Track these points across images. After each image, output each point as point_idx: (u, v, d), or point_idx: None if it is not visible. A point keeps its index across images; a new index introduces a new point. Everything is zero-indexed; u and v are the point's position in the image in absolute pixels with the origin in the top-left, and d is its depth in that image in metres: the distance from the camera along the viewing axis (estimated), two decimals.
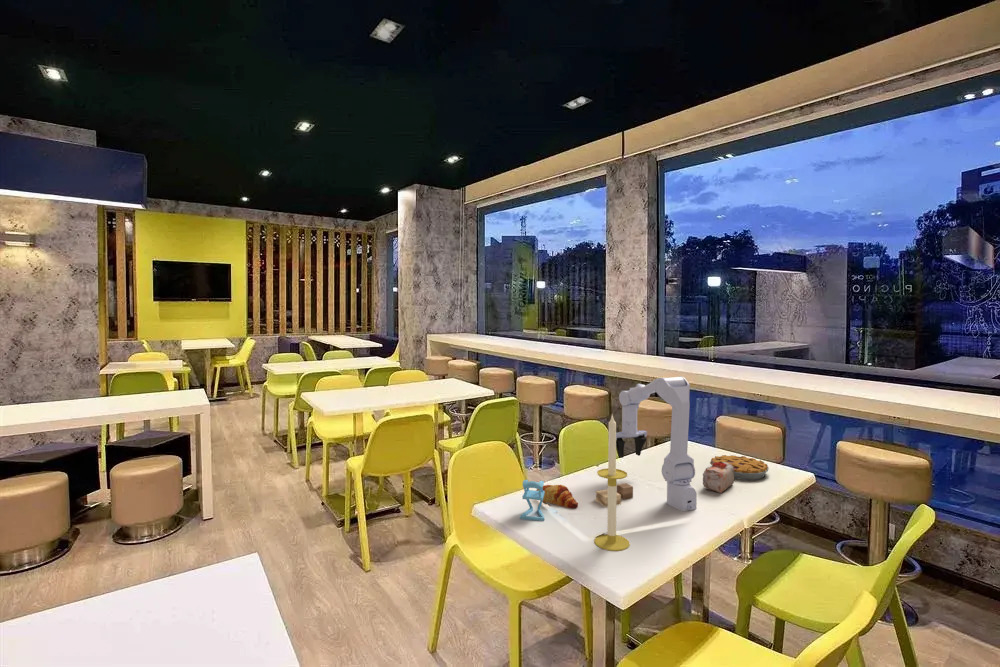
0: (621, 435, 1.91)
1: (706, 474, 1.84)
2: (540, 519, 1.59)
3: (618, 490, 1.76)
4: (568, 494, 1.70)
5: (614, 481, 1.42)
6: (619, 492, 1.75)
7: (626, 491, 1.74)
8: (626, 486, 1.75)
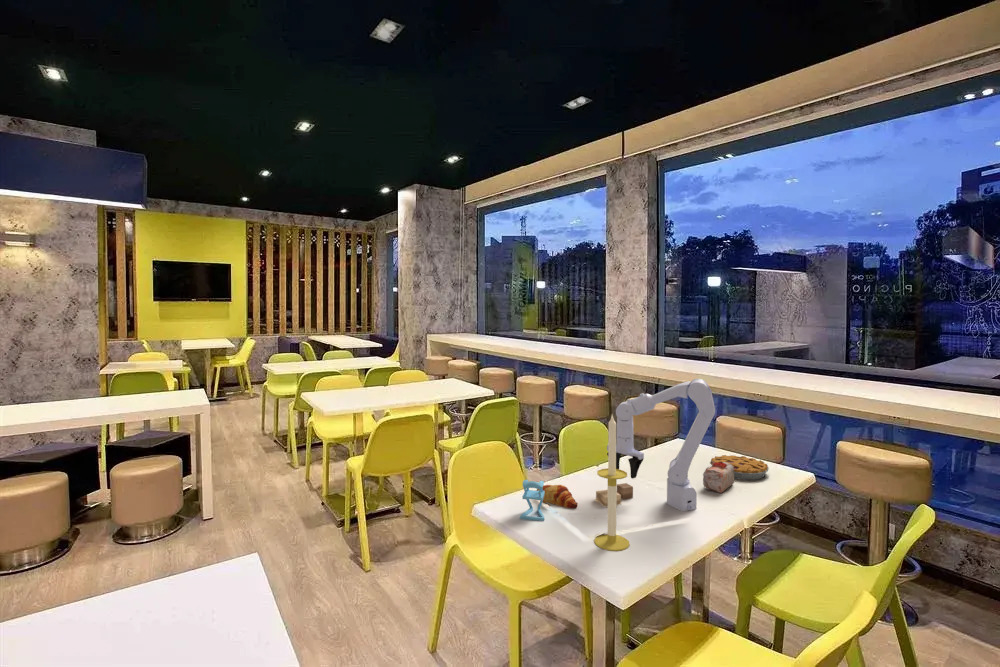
0: None
1: (706, 474, 1.84)
2: (540, 519, 1.59)
3: (618, 490, 1.76)
4: (568, 494, 1.70)
5: (614, 481, 1.42)
6: (619, 492, 1.75)
7: (626, 491, 1.74)
8: (626, 486, 1.75)
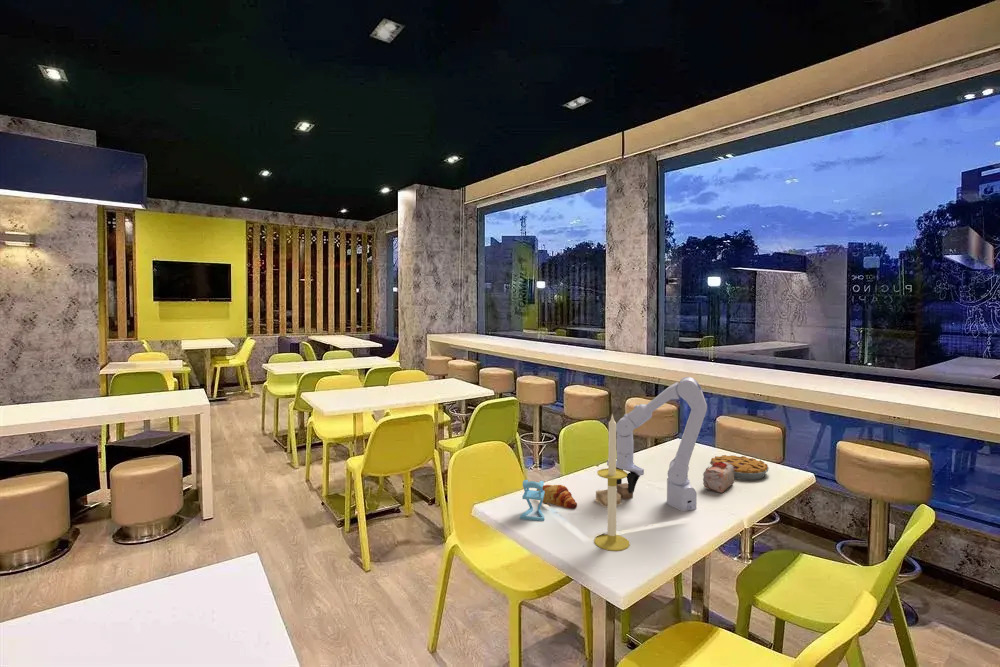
0: None
1: (707, 474, 1.84)
2: (540, 519, 1.59)
3: (618, 490, 1.76)
4: (567, 494, 1.70)
5: (614, 481, 1.42)
6: (619, 492, 1.75)
7: (626, 491, 1.74)
8: (626, 486, 1.75)
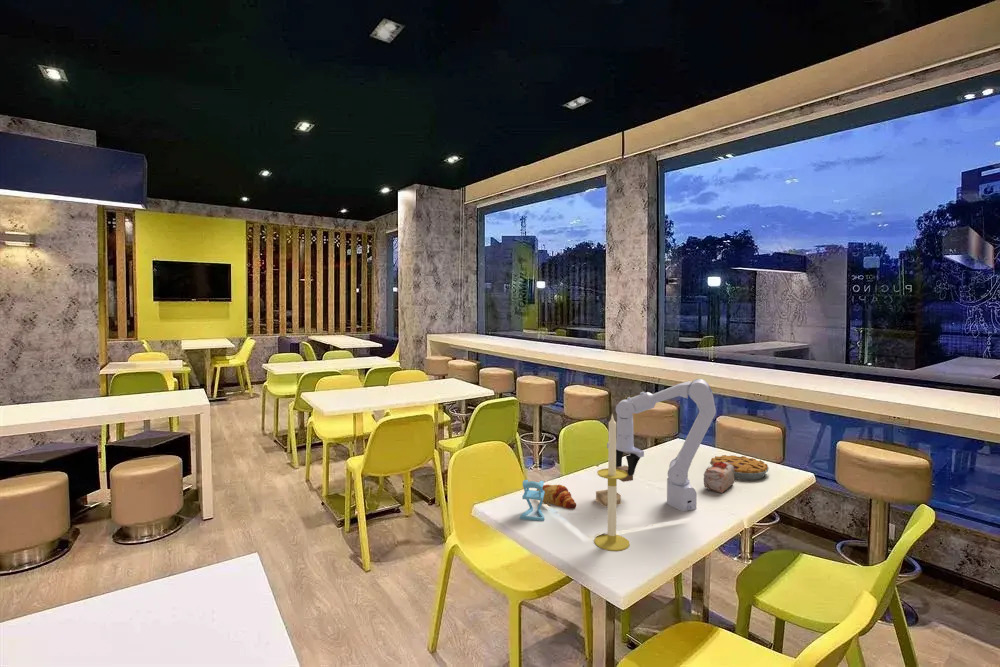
0: None
1: (707, 474, 1.84)
2: (540, 519, 1.59)
3: None
4: (567, 494, 1.70)
5: (614, 481, 1.42)
6: None
7: None
8: (626, 468, 1.75)
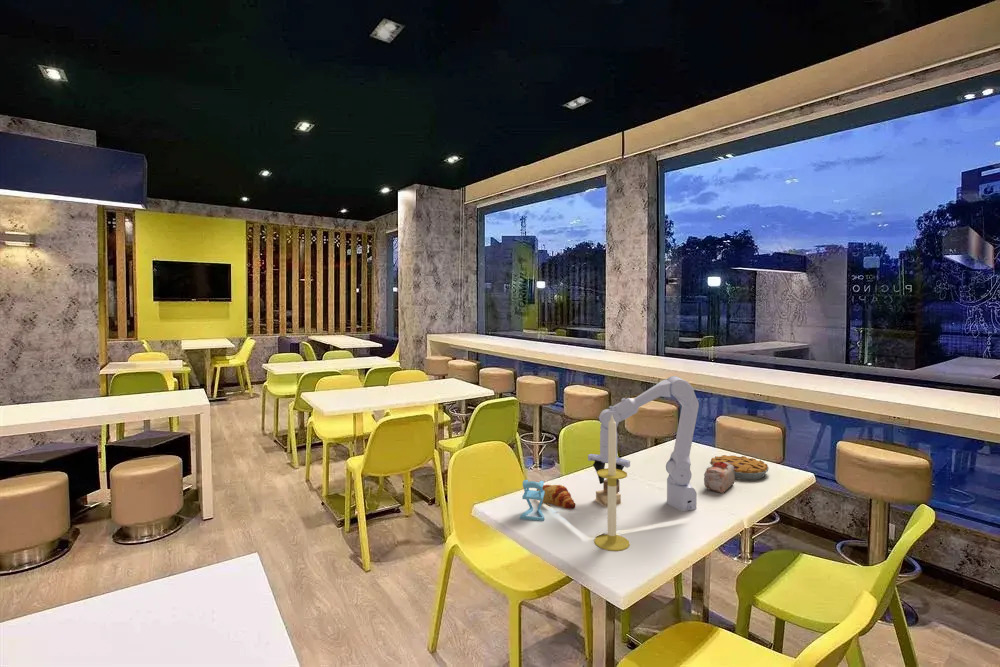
0: (594, 457, 1.72)
1: (707, 474, 1.84)
2: (540, 519, 1.59)
3: (605, 487, 1.71)
4: (566, 494, 1.70)
5: (614, 481, 1.42)
6: None
7: None
8: None
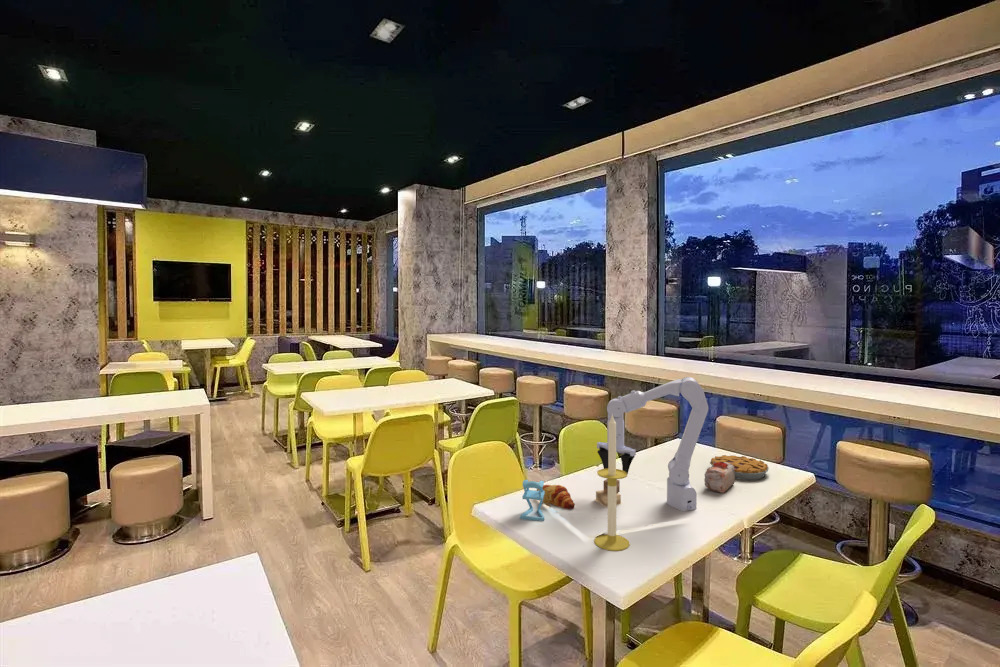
0: (602, 445, 1.77)
1: (708, 474, 1.84)
2: (540, 519, 1.59)
3: (605, 487, 1.71)
4: (565, 494, 1.70)
5: (614, 481, 1.42)
6: None
7: None
8: None
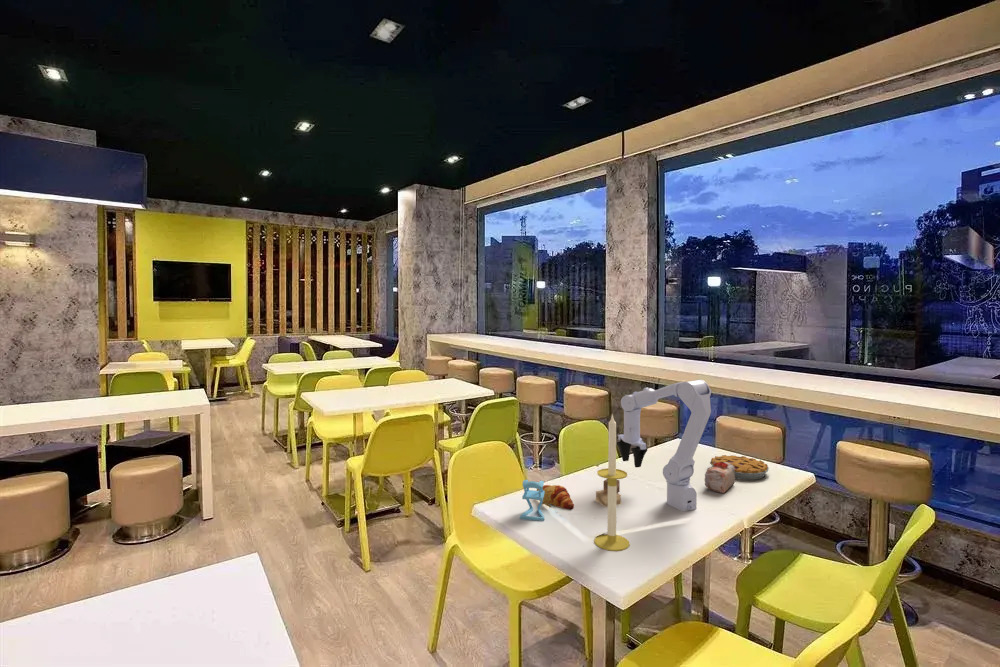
0: (621, 437, 1.87)
1: (708, 474, 1.84)
2: (540, 519, 1.59)
3: (605, 487, 1.71)
4: (565, 495, 1.70)
5: (614, 481, 1.42)
6: None
7: None
8: None
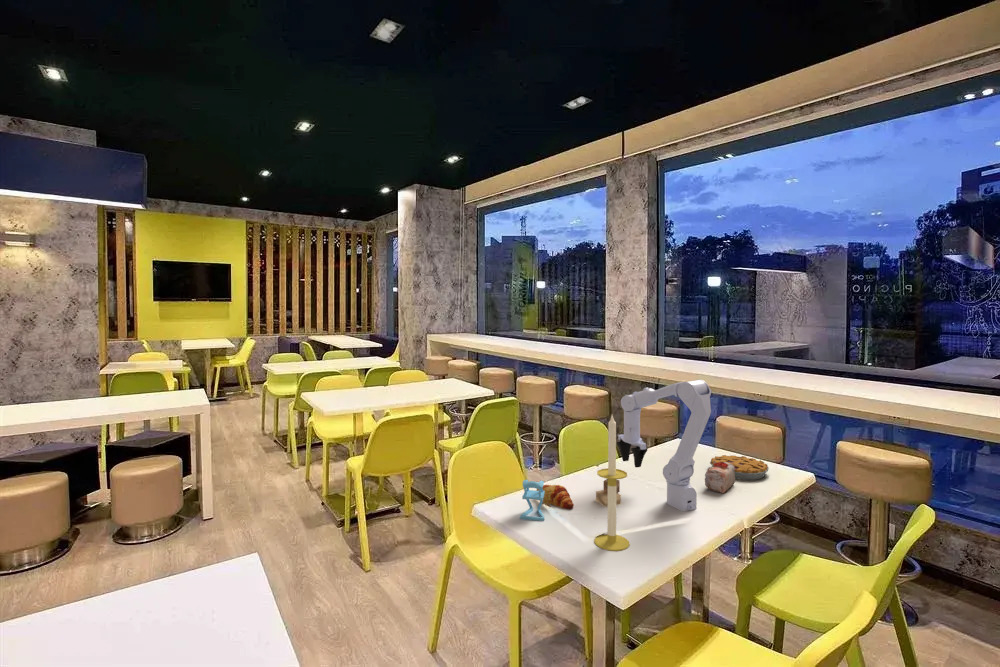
0: (621, 437, 1.87)
1: (708, 474, 1.84)
2: (540, 519, 1.59)
3: (605, 487, 1.71)
4: (565, 494, 1.70)
5: (614, 481, 1.42)
6: None
7: (616, 485, 1.70)
8: None
